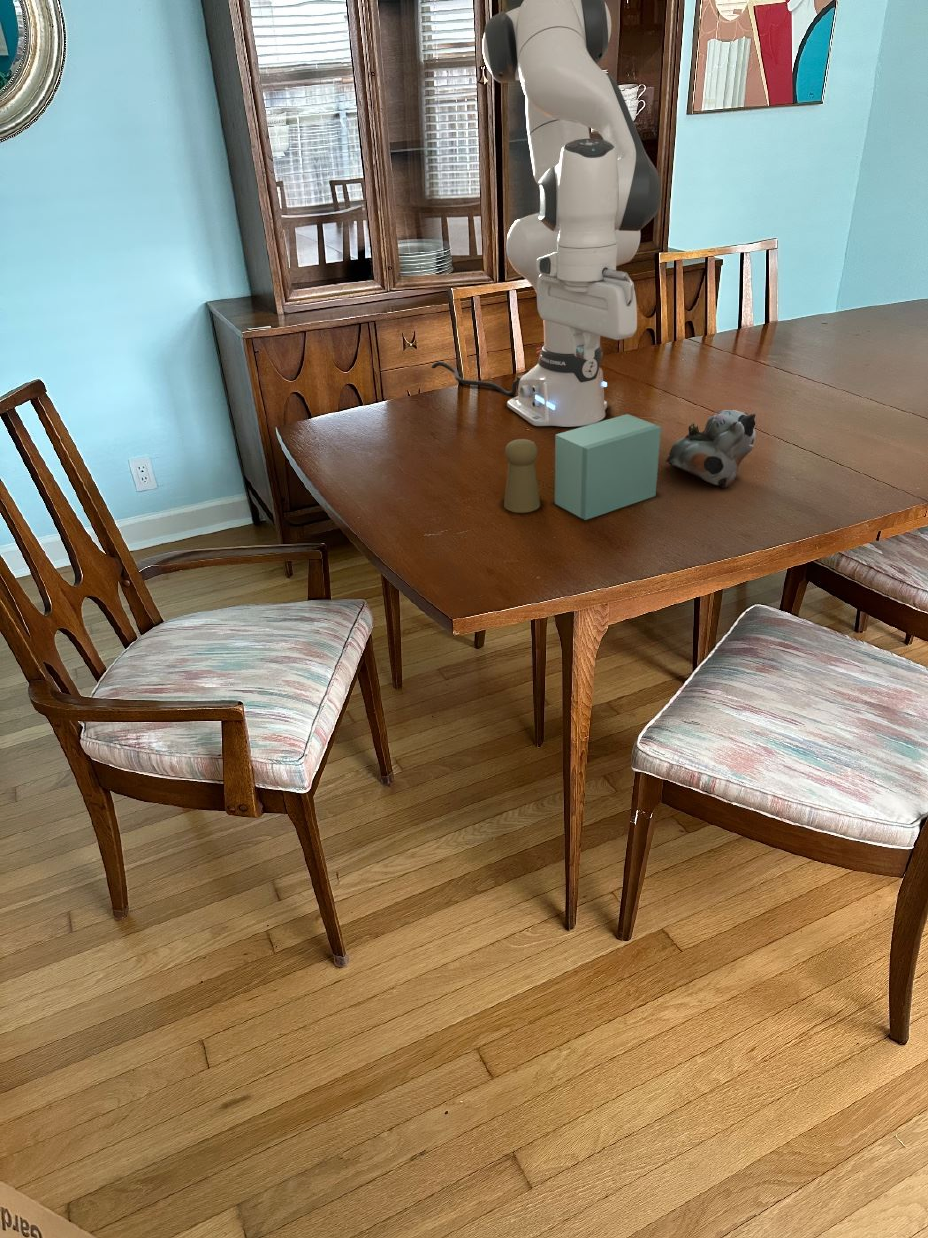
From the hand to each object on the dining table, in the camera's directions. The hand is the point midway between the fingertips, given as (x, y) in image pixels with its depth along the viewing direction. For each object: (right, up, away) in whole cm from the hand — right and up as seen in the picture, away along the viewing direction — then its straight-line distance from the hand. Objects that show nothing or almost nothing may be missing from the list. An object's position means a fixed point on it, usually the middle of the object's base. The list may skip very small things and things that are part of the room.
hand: (584, 357), depth 135 cm
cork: (-9, -22, +7) cm, 25 cm away
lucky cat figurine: (+23, -16, +14) cm, 31 cm away
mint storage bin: (+5, -21, +7) cm, 23 cm away
